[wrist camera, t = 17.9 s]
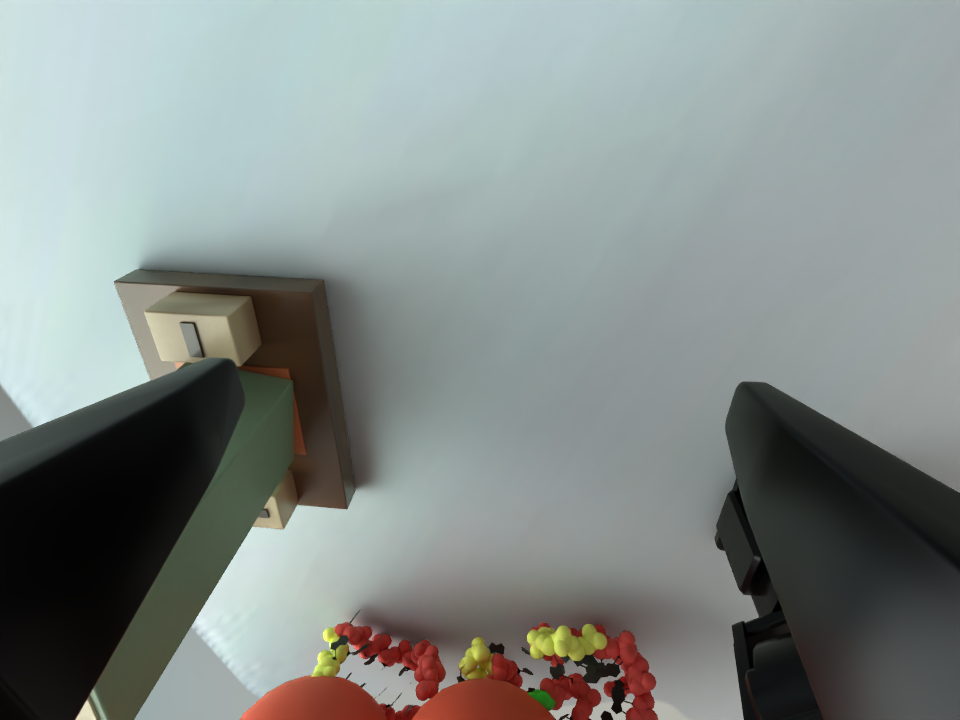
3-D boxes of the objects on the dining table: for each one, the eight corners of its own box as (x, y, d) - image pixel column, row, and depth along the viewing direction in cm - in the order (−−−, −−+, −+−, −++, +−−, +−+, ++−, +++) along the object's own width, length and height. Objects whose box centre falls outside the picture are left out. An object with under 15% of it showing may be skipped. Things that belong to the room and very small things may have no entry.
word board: (324, 279, 23) (290, 314, 20) (356, 490, 30) (334, 540, 27) (135, 268, 24) (75, 301, 21) (207, 476, 31) (170, 524, 28)
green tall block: (293, 377, 24) (79, 658, 13) (294, 458, 27) (117, 748, 16) (189, 355, 24) (-116, 616, 13) (200, 438, 27) (-44, 714, 16)
